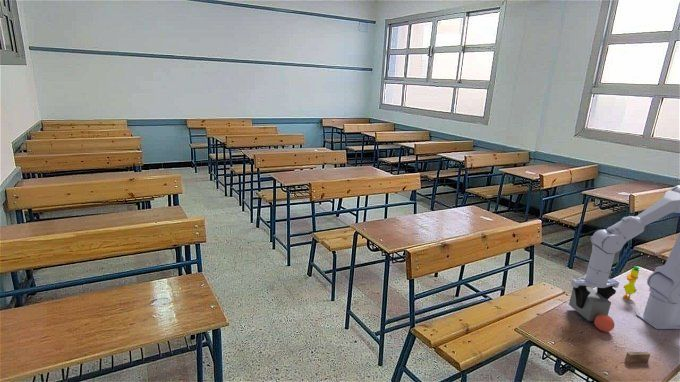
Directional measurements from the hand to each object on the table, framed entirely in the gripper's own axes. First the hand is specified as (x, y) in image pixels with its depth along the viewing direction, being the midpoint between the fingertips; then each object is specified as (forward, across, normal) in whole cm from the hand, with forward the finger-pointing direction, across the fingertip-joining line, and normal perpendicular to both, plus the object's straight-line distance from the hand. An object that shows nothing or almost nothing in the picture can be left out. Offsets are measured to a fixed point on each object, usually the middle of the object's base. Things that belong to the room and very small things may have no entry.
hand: (588, 306), depth 122 cm
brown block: (+4, +1, +20) cm, 21 cm away
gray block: (+2, 0, 0) cm, 2 cm away
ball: (+1, 0, +7) cm, 7 cm away
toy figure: (+4, -24, -11) cm, 27 cm away
